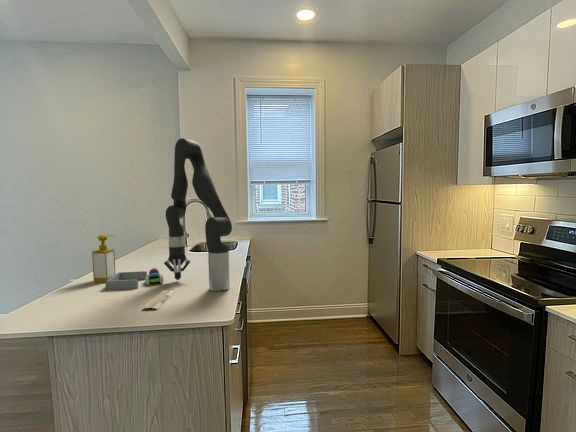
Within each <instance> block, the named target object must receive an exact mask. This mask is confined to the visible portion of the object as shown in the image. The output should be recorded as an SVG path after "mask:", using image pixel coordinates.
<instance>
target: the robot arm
mask: <svg viewBox="0 0 576 432" xmlns="http://www.w3.org/2000/svg"><path fill="white" fill-rule="evenodd" d="M173 159H174V161H173V167H174V168H173V173H174V175H173V182H172V189H171V196H170V197H171V199H172V200H173V204H172V205H169V206H168V207H167V208H166V210H165V220H166V222H167V226H168V256H169V257H168V258H167V260H165V261H164V263H163V264H164V265H165V266H166V267H167V269H168V270H169V271H170V272H173V273H174V279H175V281H179V280H180V279H181V278H182V272H184V271H185V270H186V268H187V267H188V266H189V264H190V263H191V260H189V259H188V258H187V256H186V246H185V245H186V241H185V231H184V230H185V229H184V225H183V224H181V221H180V219H183V218H184V217H185V216H186V211H187V199H186V197H187V194H188V187H189V182H188V177H187V174H186V168H185V164H186V160H189V161H190V164H191V166H192V168H193V173H192V179H191V180H192V181H191V183H192V188H193V189H194V193H195V195H196V197H197V198H198V200H199V201H200V202H202V203H203V204H204V205H205V206H206V207H207V208H208V209H209V210H210V212H211V213H212V214H213V215H212V216H213V217H209V218H207V220H206V221H205V223H204V224H205V226H204V227H205V229H204V232H205V233H204V234H205V241H206V242H205V243H206V248H207V251H208V252H207V256H208V260H207V261H208V284H209V285H208V288H209V289H208V290H210V291H211V290H212V291H211V292H222V291H221V290H226V289H227V290H229V289H230V257H229V256H230V249H229V244H225V243H223V242H222V240H221V238H222V237H226V236H227V237H228V236H229V235H230V234H231V233H232V230H233V226H232V222H231V219H230V216H229V215H228V213H227V211H226V209H225V207H224V205H223V204H222V202H221V199H220V197H219V195H218V192H217V190H216V186H215V184H214V182H213V180H212V177H211V175H210V172H209V170H208V167H207V165H206V161H205V159H204V154H203V151H202V148H201V146H200V144H199V143H198V142H197V141H195V140H192V139H188V138H184V137H183V138H179V139H178V140H177V141H176V143H175V145H174V158H173ZM172 265H173V266H172ZM182 265H183V266H182ZM228 288H229V289H228ZM227 290H226V291H227Z"/></svg>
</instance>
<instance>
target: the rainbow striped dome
mask: <svg viewBox="0 0 576 432" xmlns="http://www.w3.org/2000/svg"><path fill="white" fill-rule="evenodd" d="M164 281H165V280H164V274H163V273H160V270H158V269H157V268H155V267H152V268H151V269H150V270H149V271H148V274H147V276H146V277H145V279H144V283H145V284H146V285H148V286H149V285H150V283H158V282H159V284H163V282H164Z"/></svg>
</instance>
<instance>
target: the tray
mask: <svg viewBox="0 0 576 432" xmlns="http://www.w3.org/2000/svg"><path fill="white" fill-rule="evenodd" d="M147 275H148V271H145V270H139V271H122V272H119V271H118V272H116V274H115V275H114V276H112V277H111V278H110V279H108V280H107V281H105V283H104V284H105V291H112V290H113V291H115V290H129V289H131V290H133V289H138V288H139V280H145V277H146V276H147Z"/></svg>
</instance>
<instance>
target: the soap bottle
mask: <svg viewBox="0 0 576 432" xmlns="http://www.w3.org/2000/svg"><path fill="white" fill-rule="evenodd" d="M109 237H114V234H100V235H98V236H96V238H97V239H98V241H99V242H100V244H99V246H98V249H97V250H93V251H92V252H91V257H92V273H93V274H92V275H93V283H100V284H101V283H104V284H105V281H107V280H108V279H110V278H111V277H112V276H114V275H115V274H117V272H116V257H115V256H116V254H115V249H114V248H109V249H108V245H107V244H106V241H108V238H109Z"/></svg>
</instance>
